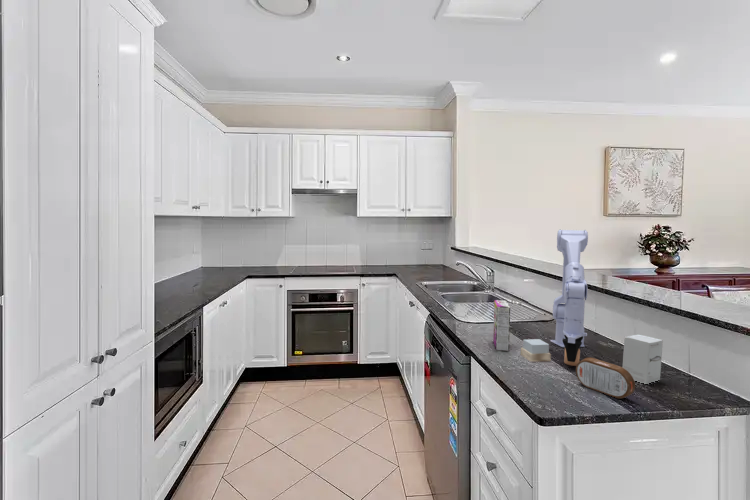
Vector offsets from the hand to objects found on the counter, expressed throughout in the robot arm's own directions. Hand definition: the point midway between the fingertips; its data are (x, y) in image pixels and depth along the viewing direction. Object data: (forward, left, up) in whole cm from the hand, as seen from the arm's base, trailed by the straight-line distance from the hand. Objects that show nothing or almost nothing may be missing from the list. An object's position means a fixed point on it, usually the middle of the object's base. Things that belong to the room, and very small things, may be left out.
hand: (571, 359), depth 132 cm
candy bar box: (+15, -20, -2) cm, 25 cm away
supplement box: (-13, +14, -2) cm, 19 cm away
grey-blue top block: (+9, -7, +1) cm, 11 cm away
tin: (+5, +21, -2) cm, 22 cm away
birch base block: (+9, -7, -2) cm, 11 cm away
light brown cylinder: (0, 0, -1) cm, 1 cm away
